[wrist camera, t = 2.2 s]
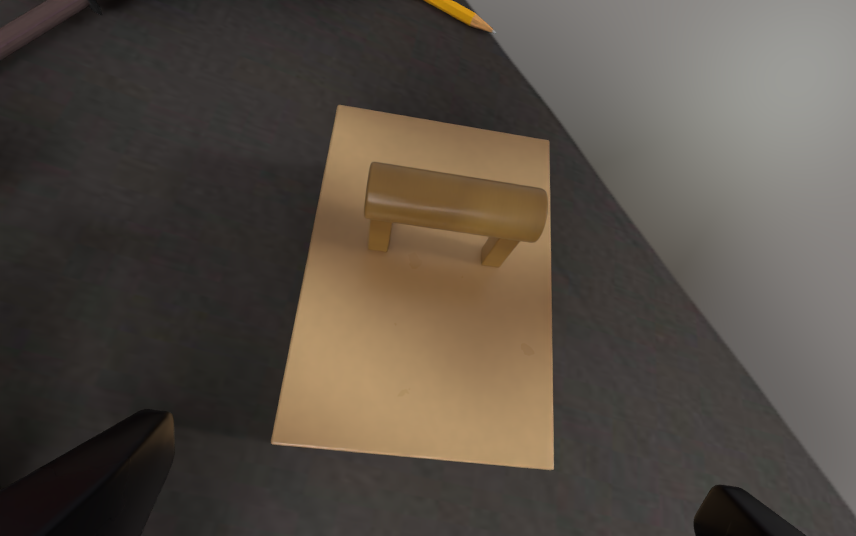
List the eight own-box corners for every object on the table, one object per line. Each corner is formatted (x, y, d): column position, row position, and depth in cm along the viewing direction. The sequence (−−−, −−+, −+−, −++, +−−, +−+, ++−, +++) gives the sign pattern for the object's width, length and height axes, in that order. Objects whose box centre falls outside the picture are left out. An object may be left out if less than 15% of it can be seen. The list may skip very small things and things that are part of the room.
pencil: (375, -25, 29) (380, -26, 30) (492, 41, 29) (496, 38, 29) (378, -40, 29) (383, -40, 29) (498, 28, 28) (501, 26, 29)
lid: (338, 116, 19) (333, 9, 14) (542, 151, 20) (600, 60, 15) (274, 444, 14) (236, 441, 10) (545, 469, 15) (629, 477, 11)
